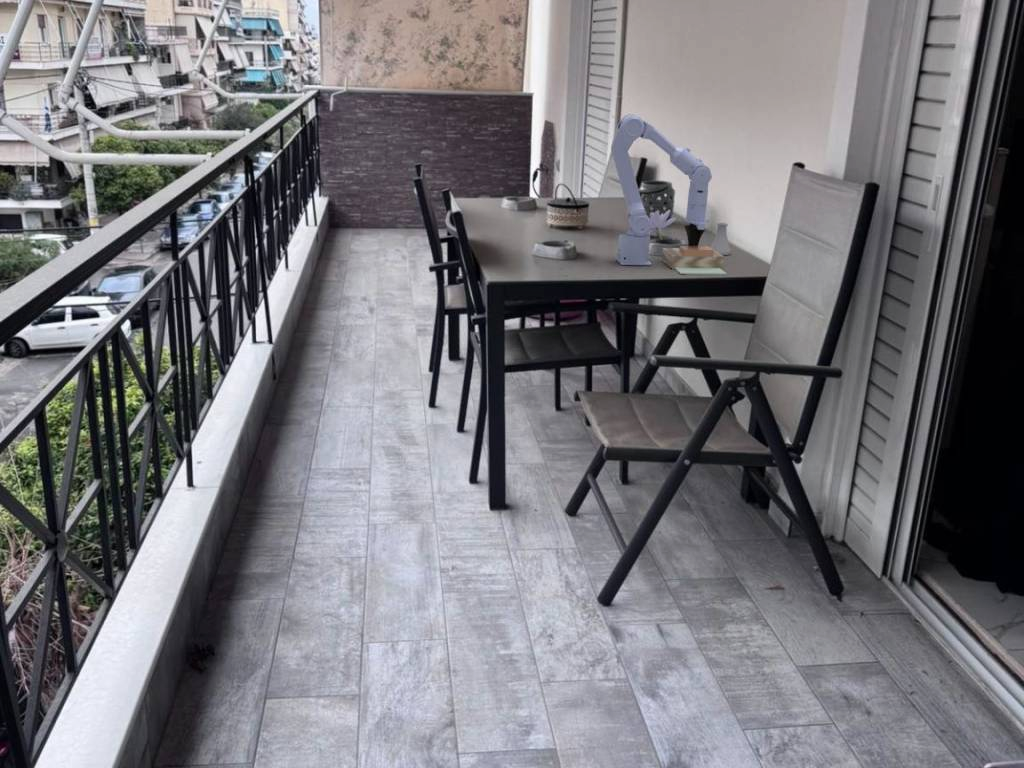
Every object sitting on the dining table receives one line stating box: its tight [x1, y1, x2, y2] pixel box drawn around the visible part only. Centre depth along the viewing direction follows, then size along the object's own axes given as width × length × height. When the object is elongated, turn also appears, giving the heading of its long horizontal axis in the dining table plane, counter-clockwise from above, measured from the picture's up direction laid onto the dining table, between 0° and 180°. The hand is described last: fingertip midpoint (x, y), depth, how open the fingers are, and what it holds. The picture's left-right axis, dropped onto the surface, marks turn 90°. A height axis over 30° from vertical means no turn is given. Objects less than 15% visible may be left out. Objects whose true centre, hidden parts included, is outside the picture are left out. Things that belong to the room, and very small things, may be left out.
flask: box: [709, 222, 732, 256], centre depth 299 cm, size 7×7×10 cm
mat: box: [673, 267, 728, 276], centre depth 274 cm, size 14×8×1 cm, turn 94°
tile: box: [679, 245, 714, 257], centre depth 278 cm, size 9×6×2 cm, turn 94°
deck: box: [661, 247, 725, 271], centre depth 282 cm, size 16×12×4 cm
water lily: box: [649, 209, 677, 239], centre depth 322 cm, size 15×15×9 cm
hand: (692, 249), depth 282 cm, fingers closed
